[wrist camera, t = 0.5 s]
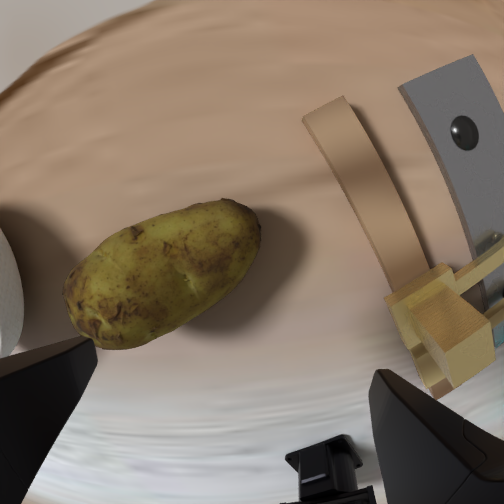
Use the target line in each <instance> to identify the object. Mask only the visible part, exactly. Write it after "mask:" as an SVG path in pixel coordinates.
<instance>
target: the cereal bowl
mask: <svg viewBox="0 0 504 504" xmlns="http://www.w3.org/2000/svg"><path fill="white" fill-rule="evenodd" d="M23 317H24V297H23V289H22V283H21V278H20V274H19V270H18V267H17V264H16V260H15V257H14V255H13V252H12V250H11V247H10V245H9V243H8V241H7V239H6V237H5V235H4V233H3V232H2V230H1V228H0V358H3V357H7V356H9V355H10V354H11V352H12V351H13V350H14V348H15V346H16V345H17V343H18V340H19V339H20V335H21V332H22V328H23V321H24V318H23Z"/></svg>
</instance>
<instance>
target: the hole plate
mask: <svg viewBox="0 0 504 504" xmlns="http://www.w3.org/2000/svg"><path fill="white" fill-rule="evenodd" d="M398 90H399V91H400V93H401V95H402V96H403V98H404V100H405V101H406V103H407V105H408V107H409V108H410V110H411V112H412V114H413V116H414V117H415V119H416V121H417V123H418V125H419V127H420V129H421V131H422V133H423V134H424V136H425V138H426V140H427V142H428V144H429V147H430V149H431V151H432V153H433V155H434V157H435V159H436V161H437V164H438V166H439V168H440V170H441V173H442V175H443V177H444V180H445V182H446V184H447V187H448V189H449V192H450V194H451V197H452V199H453V202H454V204H455V207H456V210H457V213H458V215H459V218H460V221H461V224H462V227H463V230H464V233H465V236H466V239H467V242H468V245H469V248H470V252H471V255H472V259H473V260H475V259H476V258H477V257H479V256H480V255H482V254H483V253H484V252H486V251H487V250H488V249H490V248H491V247H492V246H494V245H495V244H496V243H498V242H499V241H500V240H501V238H502V236H503V235H504V113H503V111H502V109H501V107H500V104H499V102H498V100H497V98H496V96H495V94H494V92H493V90H492V88H491V86H490V84H489V82H488V80H487V78H486V76H485V74H484V73H483V71H482V69H481V67H480V65H479V64H478V62H477V60H476V59H475V57H474V55H473V54H472V55H470V56H467V57H465V58H462V59H460V60H457V61H455V62H452V63H450V64H448V65H445V66H443V67H440V68H438V69H436V70H433V71H431V72H429V73H427V74H424V75H422V76H420V77H418V78H415V79H413V80H411V81H409V82H407V83H404V84H402V85H401V86H399V87H398ZM479 285H480V289H481V294H482V298H483V303H484V307H485V312H486V311H487V310H489V309H490V308H491V307H493V306H494V305H495V304H497V303H498V302H499V301H500V300H502V299H503V298H504V263H503V264H501V265H500V266H499V267H497V268H496V269H495V270H494V271H492V272H491V273H490V274H488V275H487V276H486V277H484V278H483V279H482V280H480V281H479ZM492 336H493V343H494V347H495V348H497V347H498V346H499V345H501V344H502V343H503V342H504V320H503V321H502V322H501V323H499V324H498V325H497V326H495V327H494V328H493V329H492Z"/></svg>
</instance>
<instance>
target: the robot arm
mask: <svg viewBox="0 0 504 504" xmlns="http://www.w3.org/2000/svg"><path fill="white" fill-rule="evenodd" d="M97 362H98V359H97V354H96V349H95V344H94V341H93V339H92V338H89V337H85V336H80V337H76V338H73V339H69V340H66V341H62V342H59V343H55V344H51V345H48V346H44V347H40V348H37V349H33V350H29V351H26V352H22V353H18V354H15V355H11V356H7V357H3V358H0V504H21V503H22V501H23V499H24V497H25V495H26V493H27V491H28V489H29V487H30V485H31V484H32V482H33V480H34V478H35V476H36V474H37V472H38V471H39V469H40V467H41V465H42V463H43V462H44V460H45V458H46V456H47V455H48V453H49V451H50V449H51V448H52V446H53V444H54V442H55V441H56V439H57V437H58V435H59V434H60V432H61V430H62V429H63V427H64V425H65V424H66V422H67V420H68V419H69V417H70V415H71V414H72V412H73V410H74V409H75V407H76V406H77V404H78V402H79V401H80V399H81V397H82V395H83V393H84V391H85V389H86V387H87V385H88V383H89V380H90V378H91V376H92V374H93V372H94V370H95V368H96V366H97ZM369 405H370V413H371V421H372V430H373V437H374V442H375V447H376V451H377V455H378V460H379V464H380V469H381V473H382V478H383V483H384V488H385V493H386V498H387V503H388V504H504V441H503V440H501V439H499V438H497V437H495V436H493V435H491V434H490V433H488V432H486V431H484V430H482V429H481V428H479V427H477V426H476V425H474V424H472V423H471V422H469V421H468V420H466V419H464V418H463V417H462V416H460V415H458V414H457V413H455V412H454V411H452V410H451V409H449V408H448V407H446V406H444V405H443V404H441V403H440V402H438V401H437V400H435V399H434V398H432V397H431V396H429V395H427V394H426V393H424V392H423V391H421V390H420V389H418V388H417V387H415V386H414V385H412V384H411V383H409V382H408V381H406V380H405V379H403V378H402V377H400V376H399V375H397V374H396V373H394V372H393V371H391V370H389V369H377V370H376V371H375V373H374V376H373V380H372V383H371V386H370V389H369ZM285 460H286V461H287V462H288V463H289V464H290V465H291V466H292V467H293V468H294V469H295V470H296V471H297V472H298V478H299V502H292V503H280V504H377V503H376V499H375V495H374V491H373V486H372V485H371V486H367V487H366V488H363V489H359V490H358V486H357V480H356V474H355V469H357V468H359V467H361V466H362V465H363V463H362V460H361V459H360V458H359V456H358V455H357V453H356V452H355V450H354V449H353V448H352V446H351V445H350V443H349V442H348V440H347V439H346V438H345V436H343V435H340V436H337V437H334V438H332V439H329V440H327V441H324V442H321V443H319V444H316V445H313V446H310V447H307V448H305V449H302V450H299V451H296V452H293V453H289V454H287V455H286V456H285Z"/></svg>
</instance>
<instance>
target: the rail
mask: <svg viewBox="0 0 504 504" xmlns="http://www.w3.org/2000/svg"><path fill="white" fill-rule="evenodd" d="M302 122H303V123H304V125H305V126H306V128H307V130H308V131H309V133H310V134H311V136H312V138H313V139H314V141H315V143H316V144H317V146H318V148H319V149H320V151H321V153H322V154H323V156H324V158H325V159H326V161H327V163H328V165H329V166H330V168H331V170H332V172H333V173H334V175H335V177H336V179H337V180H338V182H339V184H340V186H341V188H342V189H343V191H344V193H345V195H346V197H347V199H348V201H349V202H350V204H351V206H352V208H353V210H354V212H355V214H356V216H357V218H358V220H359V222H360V224H361V226H362V228H363V230H364V232H365V234H366V236H367V238H368V240H369V242H370V244H371V246H372V248H373V250H374V252H375V254H376V256H377V258H378V261H379V263H380V265H381V267H382V269H383V271H384V274H385V276H386V278H387V280H388V283H389V285H390V287H391V290H392V292H395V291H397V290H398V289H400V288H402V287H403V286H405V285H407V284H408V283H410V282H412V281H413V280H415V279H416V278H418V277H420V276H421V275H423V274H424V273H426V272H428V271H429V270H430V269H429V266H428V263H427V261H426V258H425V255H424V253H423V250H422V248H421V245H420V243H419V240H418V238H417V235H416V233H415V231H414V228H413V226H412V223H411V221H410V219H409V217H408V214H407V212H406V210H405V208H404V206H403V203H402V201H401V199H400V197H399V195H398V193H397V191H396V189H395V186H394V184H393V182H392V180H391V178H390V176H389V174H388V172H387V170H386V168H385V167H384V165H383V163H382V161H381V159H380V157H379V155H378V153H377V151H376V150H375V148H374V146H373V144H372V142H371V141H370V139H369V137H368V135H367V134H366V132H365V130H364V128H363V127H362V125H361V123H360V122H359V120H358V118H357V117H356V115H355V113H354V112H353V110H352V108H351V107H350V105H349V104H348V102H347V100H346V99H345V97H344V96H341V97H339V98H337V99H335V100H333V101H331V102H329V103H327V104H325V105H323V106H322V107H320V108H318V109H316V110H314V111H312V112H310V113H308V114H306V115H305V116H303V118H302ZM482 315H483V316H485V317H486V318H487V319H488V320H489V321H490V323H491V329H493V328H494V327H495V326H497V325H498V324H499V323H501V322H502V321H503V320H504V298H503V299H502V300H500V301H499V302H498V303H497V304H495V305H494V306H493V307H491V308H490V309H489V310H487V311H486V312H485V313H483V314H482ZM409 350H410V353H411V356H412V358H413V361H414V364H415V366H416V369H417V372H418V374H419V377H420V379H421V380H422V382H423V384H424V386H425V387H426V389H427V388H429V390H430V392H431V394H432V396H433V398H434V399H435V400H438V399H439V398H441V397H443V396H444V395H446V394H447V393H449V392H451V391H452V390H454V388H453V387H452V385H451V384H450V382H449V381H448V379H447V378H446V376H445V375H444V373H443V372H442V371H441V369H440V368H439V366H438V365H437V363H436V362H435V360H434V359H433V358H432V356H431V355H430V353H429V352H428V351H427V349H426V348H425V346H424V345H423V344H422V342H421V343H419V344H418V345H416V346H414V347H413V348H411V349H409ZM461 385H462V384H461ZM459 386H460V385H459ZM459 386H458V387H459ZM456 388H457V387H456Z"/></svg>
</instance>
